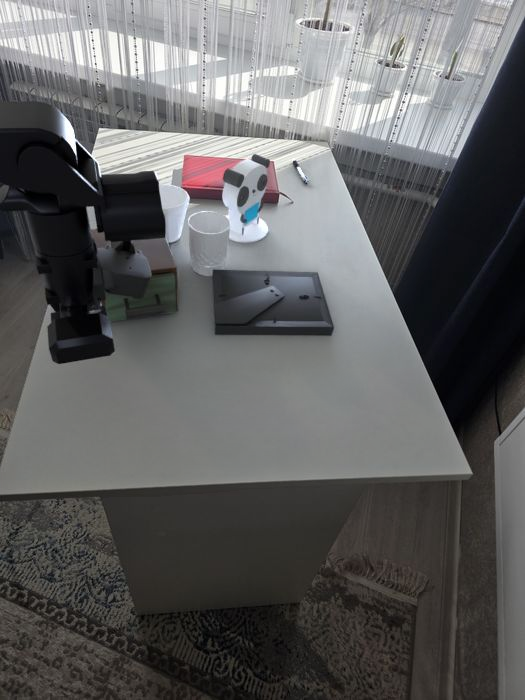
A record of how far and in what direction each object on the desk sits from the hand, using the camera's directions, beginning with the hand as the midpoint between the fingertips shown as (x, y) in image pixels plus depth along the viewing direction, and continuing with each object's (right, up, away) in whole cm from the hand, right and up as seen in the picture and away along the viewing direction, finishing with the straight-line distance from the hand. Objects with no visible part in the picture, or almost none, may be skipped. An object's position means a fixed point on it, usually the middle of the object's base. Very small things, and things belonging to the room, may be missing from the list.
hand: (87, 346), depth 59 cm
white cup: (+11, +16, +34) cm, 40 cm away
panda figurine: (+18, +26, +45) cm, 55 cm away
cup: (+2, +24, +40) cm, 46 cm away
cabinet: (-1, +10, +26) cm, 28 cm away
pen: (+33, +47, +67) cm, 89 cm away
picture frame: (+24, +8, +28) cm, 37 cm away
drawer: (0, +8, +23) cm, 25 cm away
